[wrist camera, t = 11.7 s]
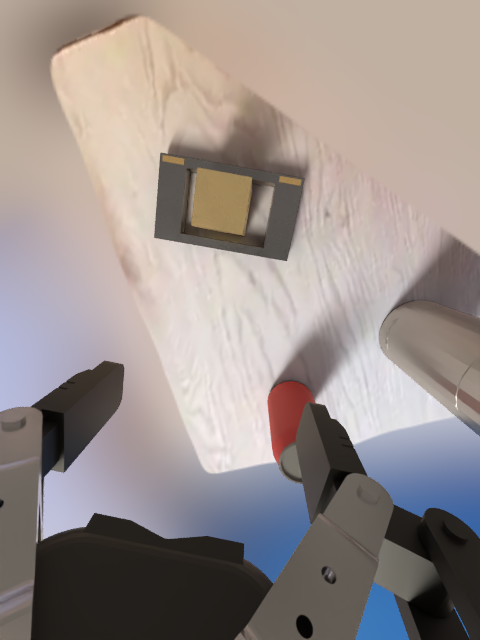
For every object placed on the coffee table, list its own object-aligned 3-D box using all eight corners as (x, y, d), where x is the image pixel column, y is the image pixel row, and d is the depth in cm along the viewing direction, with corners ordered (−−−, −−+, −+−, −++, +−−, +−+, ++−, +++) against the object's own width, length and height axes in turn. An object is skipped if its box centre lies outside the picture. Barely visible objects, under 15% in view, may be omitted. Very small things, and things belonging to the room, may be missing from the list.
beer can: (267, 417, 40) (273, 487, 29) (267, 378, 39) (274, 437, 27) (310, 418, 40) (334, 489, 29) (313, 379, 38) (340, 438, 27)
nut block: (252, 192, 32) (252, 176, 24) (244, 236, 33) (242, 235, 26) (210, 184, 32) (197, 166, 24) (205, 229, 33) (191, 226, 26)
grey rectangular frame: (301, 182, 31) (304, 178, 29) (284, 259, 34) (286, 261, 32) (166, 157, 31) (160, 152, 29) (159, 237, 34) (154, 237, 32)
